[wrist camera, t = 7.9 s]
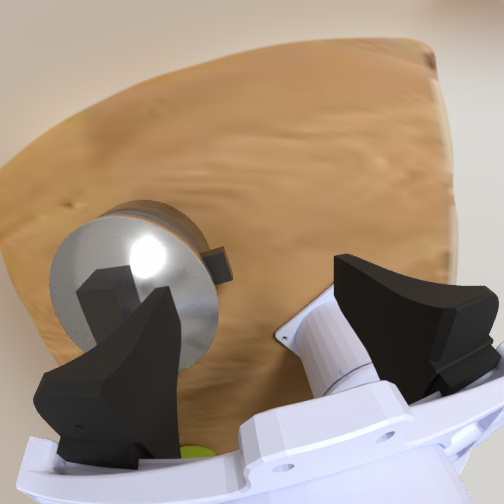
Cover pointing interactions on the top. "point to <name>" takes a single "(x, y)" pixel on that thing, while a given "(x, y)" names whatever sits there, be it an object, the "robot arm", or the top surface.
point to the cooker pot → (185, 228)
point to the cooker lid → (131, 281)
